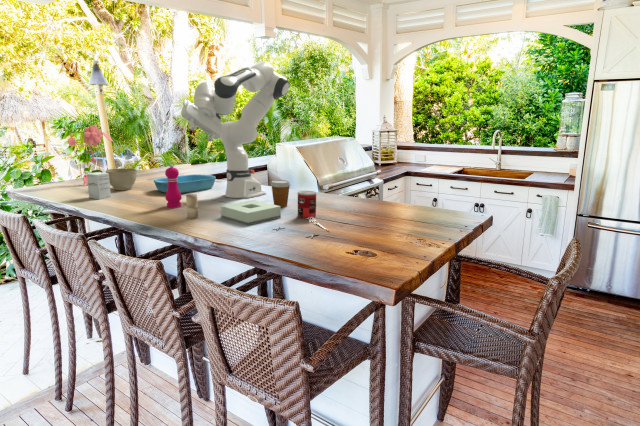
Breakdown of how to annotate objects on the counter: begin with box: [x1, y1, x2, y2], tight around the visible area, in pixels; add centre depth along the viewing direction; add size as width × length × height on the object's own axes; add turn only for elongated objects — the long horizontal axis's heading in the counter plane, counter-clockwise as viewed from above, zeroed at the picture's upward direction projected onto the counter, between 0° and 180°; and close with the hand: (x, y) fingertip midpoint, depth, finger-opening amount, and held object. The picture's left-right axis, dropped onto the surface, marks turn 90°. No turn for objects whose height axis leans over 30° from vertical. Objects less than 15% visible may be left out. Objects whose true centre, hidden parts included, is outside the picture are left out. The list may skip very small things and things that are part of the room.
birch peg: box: [185, 193, 199, 220], centre depth 181 cm, size 4×4×10 cm
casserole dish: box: [153, 173, 217, 194], centre depth 245 cm, size 37×22×7 cm, turn 147°
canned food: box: [297, 190, 317, 219], centre depth 186 cm, size 8×8×11 cm
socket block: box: [220, 199, 282, 226], centre depth 184 cm, size 18×18×5 cm
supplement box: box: [86, 171, 111, 200], centre depth 218 cm, size 7×7×13 cm
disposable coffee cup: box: [270, 179, 291, 208], centre depth 207 cm, size 10×10×12 cm
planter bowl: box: [105, 168, 138, 191], centre depth 242 cm, size 16×16×11 cm
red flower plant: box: [67, 124, 114, 187], centre depth 252 cm, size 15×26×35 cm, turn 152°
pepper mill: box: [164, 163, 182, 209], centre depth 201 cm, size 7×7×20 cm
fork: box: [307, 217, 327, 230], centre depth 172 cm, size 3×20×2 cm, turn 24°
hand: (201, 134), depth 183 cm, fingers open, 8 cm apart
